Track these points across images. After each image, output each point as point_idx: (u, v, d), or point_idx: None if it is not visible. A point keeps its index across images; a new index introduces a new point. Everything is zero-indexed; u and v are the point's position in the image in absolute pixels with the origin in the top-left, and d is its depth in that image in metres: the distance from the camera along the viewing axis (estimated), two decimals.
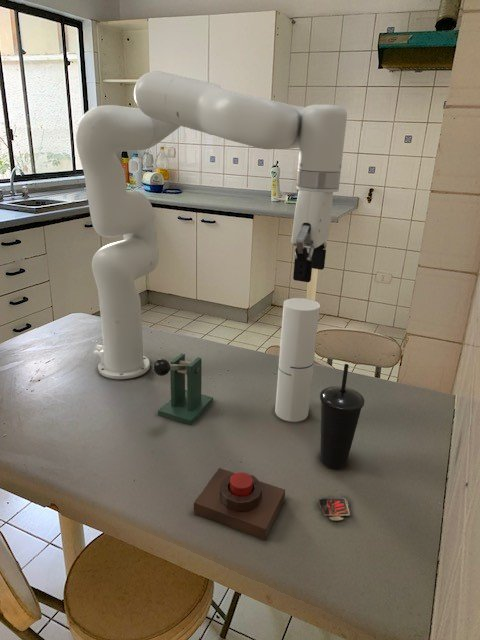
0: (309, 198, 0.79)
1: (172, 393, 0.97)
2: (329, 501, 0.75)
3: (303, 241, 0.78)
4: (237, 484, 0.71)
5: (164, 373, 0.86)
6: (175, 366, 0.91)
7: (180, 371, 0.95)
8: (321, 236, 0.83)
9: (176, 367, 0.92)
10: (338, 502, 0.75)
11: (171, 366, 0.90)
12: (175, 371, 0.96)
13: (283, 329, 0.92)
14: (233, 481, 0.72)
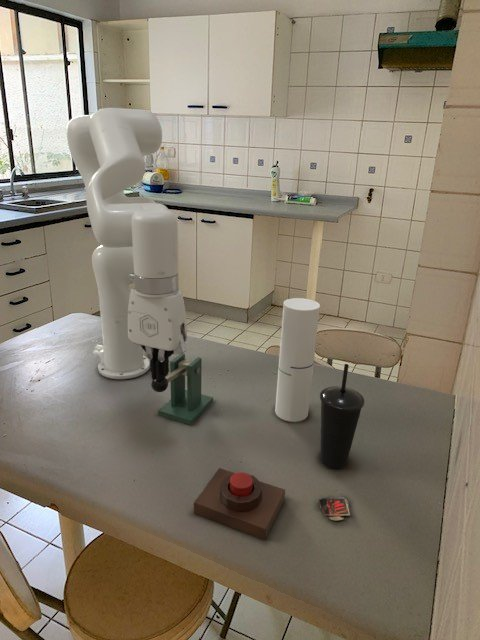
0: (179, 301, 0.79)
1: (172, 393, 0.97)
2: (329, 501, 0.75)
3: None
4: (237, 484, 0.71)
5: (163, 390, 0.87)
6: (174, 375, 0.91)
7: None
8: None
9: (175, 375, 0.92)
10: (338, 502, 0.75)
11: (169, 378, 0.90)
12: None
13: (283, 329, 0.92)
14: (233, 481, 0.72)
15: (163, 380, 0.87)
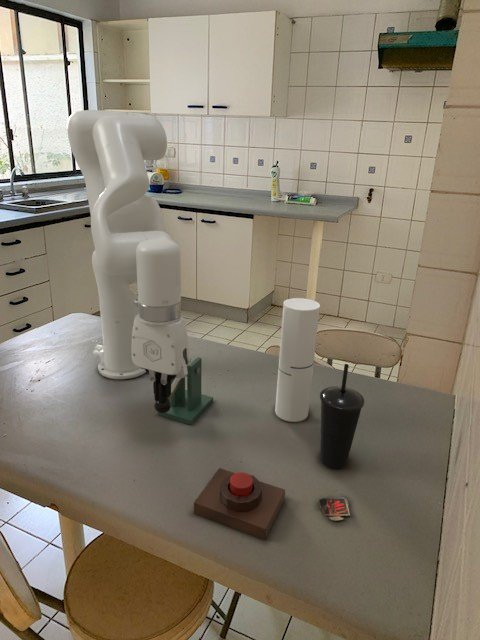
0: (182, 327, 0.82)
1: None
2: (329, 501, 0.75)
3: None
4: (237, 484, 0.71)
5: (167, 411, 0.90)
6: (175, 388, 0.93)
7: None
8: None
9: (176, 386, 0.93)
10: (338, 502, 0.75)
11: (171, 394, 0.92)
12: None
13: (283, 329, 0.92)
14: (233, 481, 0.72)
15: (164, 405, 0.89)
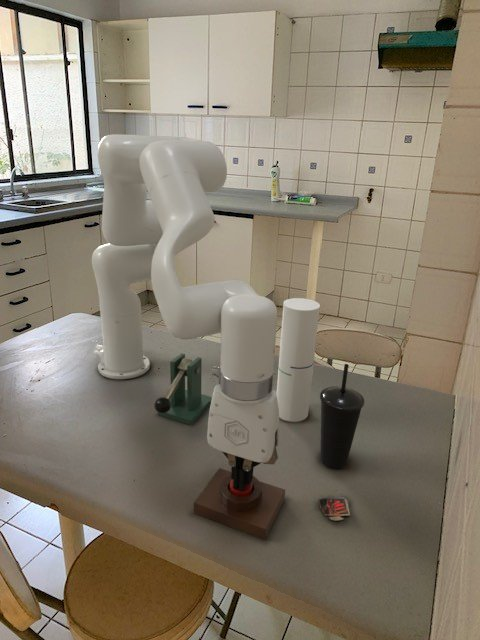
0: (275, 404, 0.65)
1: None
2: (329, 501, 0.75)
3: None
4: None
5: (167, 411, 0.90)
6: (175, 388, 0.93)
7: None
8: None
9: (176, 386, 0.93)
10: (338, 502, 0.75)
11: (171, 394, 0.92)
12: (175, 371, 0.96)
13: (283, 329, 0.92)
14: None
15: (164, 405, 0.89)
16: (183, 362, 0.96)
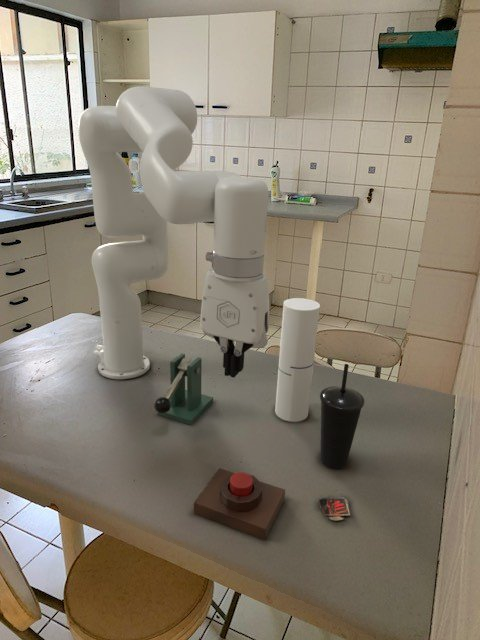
0: (265, 286, 0.68)
1: None
2: (329, 501, 0.75)
3: None
4: (237, 484, 0.71)
5: (167, 411, 0.90)
6: (175, 388, 0.93)
7: None
8: None
9: (176, 386, 0.93)
10: (338, 502, 0.75)
11: (171, 394, 0.92)
12: (175, 371, 0.96)
13: (283, 329, 0.92)
14: (233, 481, 0.72)
15: (164, 405, 0.89)
16: (183, 362, 0.96)
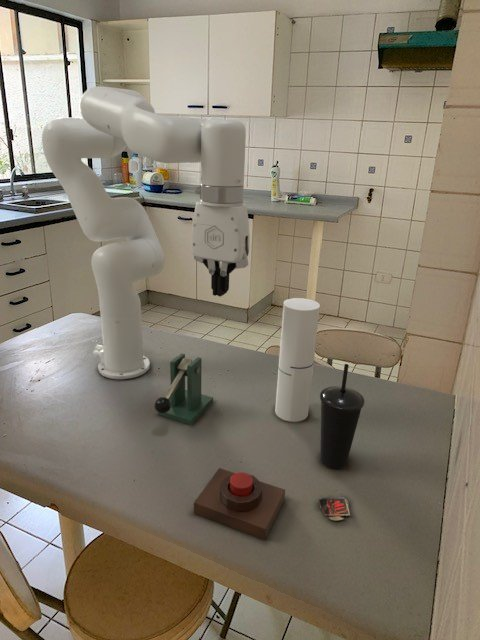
0: (245, 212, 0.81)
1: None
2: (329, 501, 0.75)
3: None
4: (237, 484, 0.71)
5: (167, 411, 0.90)
6: (175, 388, 0.93)
7: None
8: None
9: (176, 386, 0.93)
10: (338, 502, 0.75)
11: (171, 394, 0.92)
12: (175, 371, 0.96)
13: (283, 329, 0.92)
14: (233, 481, 0.72)
15: (164, 405, 0.89)
16: (183, 362, 0.96)
